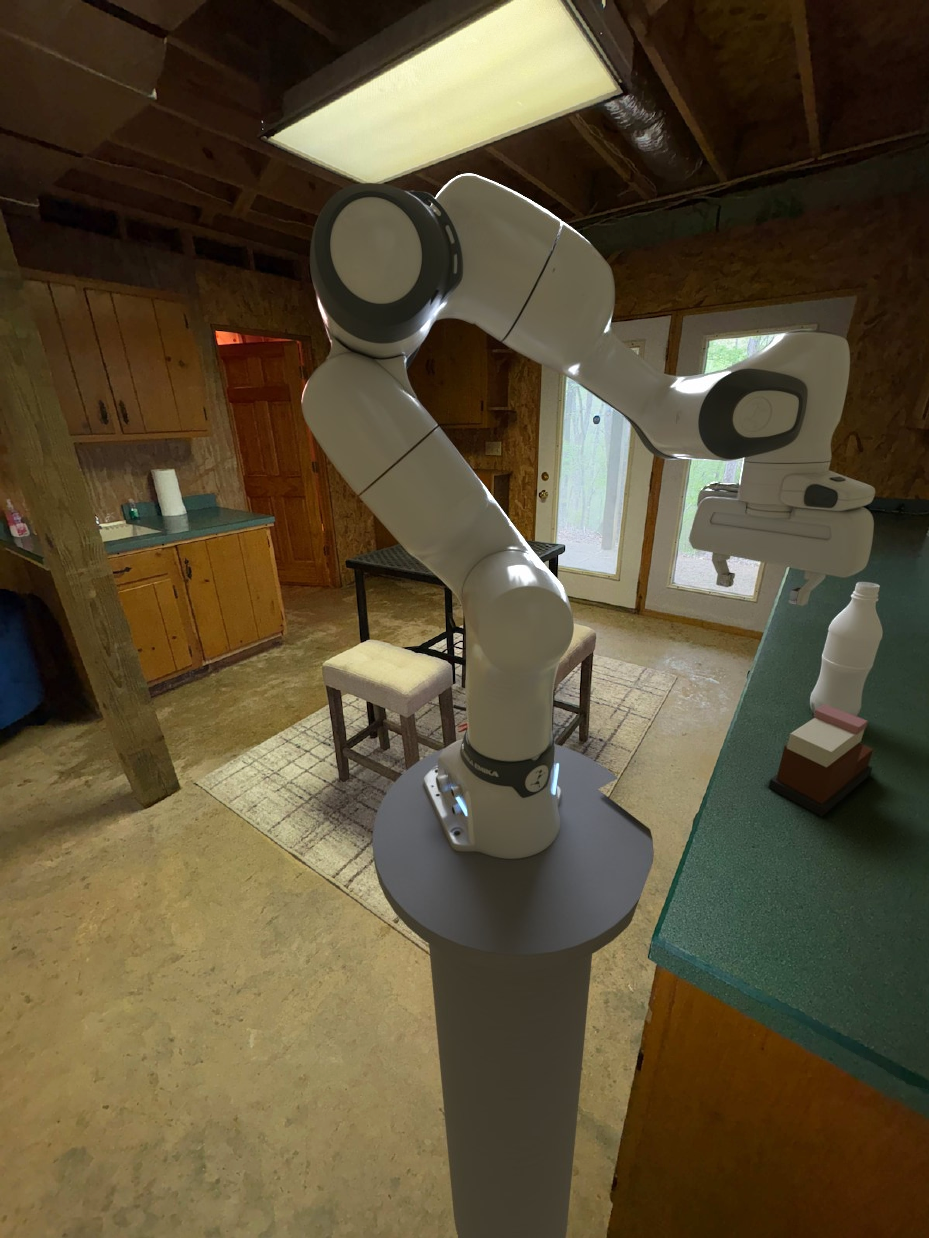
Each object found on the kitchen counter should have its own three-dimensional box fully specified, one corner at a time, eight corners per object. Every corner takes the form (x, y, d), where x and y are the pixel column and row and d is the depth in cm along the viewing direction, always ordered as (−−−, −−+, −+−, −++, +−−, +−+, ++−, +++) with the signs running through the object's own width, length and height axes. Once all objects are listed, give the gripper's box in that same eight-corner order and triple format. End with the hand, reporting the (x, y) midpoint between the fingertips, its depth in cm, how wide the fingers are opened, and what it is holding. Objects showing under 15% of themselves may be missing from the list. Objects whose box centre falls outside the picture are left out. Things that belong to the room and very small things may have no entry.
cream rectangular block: (828, 768, 63) (835, 745, 62) (785, 747, 68) (790, 725, 66) (862, 742, 68) (869, 719, 67) (819, 724, 72) (825, 702, 71)
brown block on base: (821, 816, 65) (835, 771, 63) (768, 787, 71) (778, 745, 68) (870, 774, 73) (884, 733, 70) (818, 751, 78) (829, 711, 75)
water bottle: (798, 705, 91) (830, 578, 82) (839, 706, 90) (877, 578, 81) (821, 727, 84) (858, 591, 75) (865, 728, 83) (909, 591, 74)
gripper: (686, 482, 65) (674, 580, 70) (868, 496, 49) (834, 622, 54) (714, 478, 68) (700, 572, 73) (894, 490, 52) (860, 610, 57)
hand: (758, 594), depth 63 cm, fingers open, 8 cm apart
